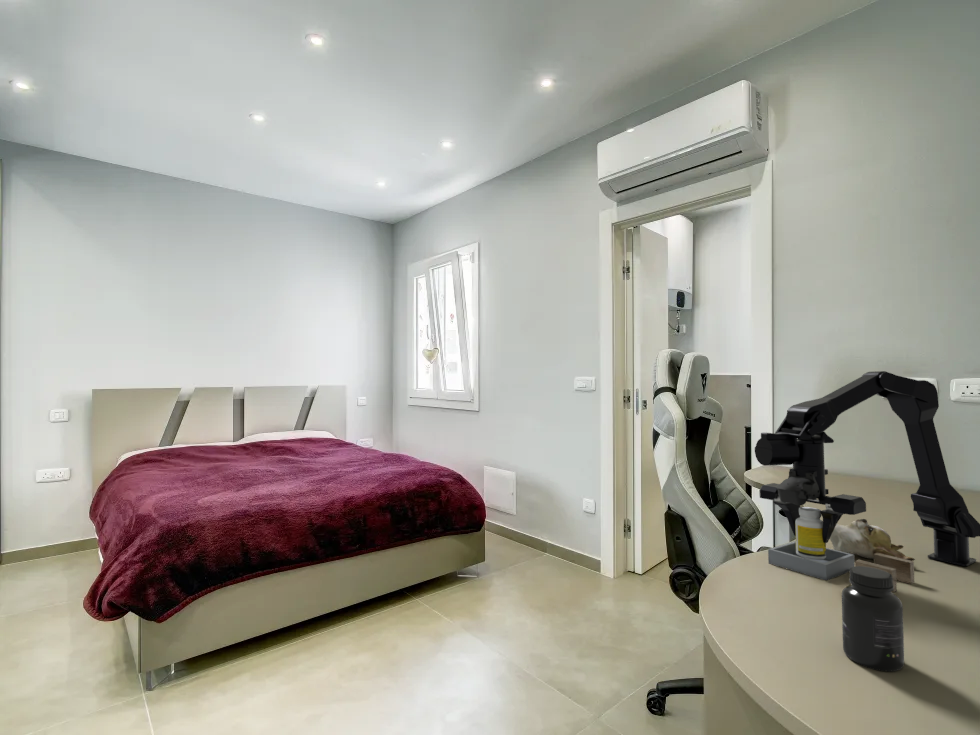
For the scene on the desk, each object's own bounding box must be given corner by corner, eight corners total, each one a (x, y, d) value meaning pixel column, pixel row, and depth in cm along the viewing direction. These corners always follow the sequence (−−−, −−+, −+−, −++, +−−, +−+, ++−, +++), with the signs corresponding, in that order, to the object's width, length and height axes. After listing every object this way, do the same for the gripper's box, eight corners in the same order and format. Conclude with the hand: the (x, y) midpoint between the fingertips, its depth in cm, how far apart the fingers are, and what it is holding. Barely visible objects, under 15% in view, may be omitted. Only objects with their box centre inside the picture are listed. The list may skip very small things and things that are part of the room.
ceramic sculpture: (824, 508, 121) (903, 519, 114) (822, 544, 121) (901, 558, 114) (829, 519, 111) (916, 532, 104) (827, 558, 111) (915, 574, 104)
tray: (797, 554, 114) (796, 540, 115) (854, 569, 105) (854, 554, 105) (768, 563, 109) (768, 549, 109) (826, 580, 99) (826, 564, 99)
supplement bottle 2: (831, 648, 73) (828, 563, 74) (875, 645, 74) (872, 562, 74) (870, 674, 67) (867, 581, 67) (918, 672, 67) (915, 580, 68)
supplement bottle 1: (831, 561, 103) (829, 512, 104) (802, 559, 105) (800, 511, 105) (819, 552, 109) (818, 506, 109) (791, 551, 110) (790, 505, 110)
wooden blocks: (877, 572, 103) (877, 552, 103) (914, 582, 98) (913, 561, 98) (855, 582, 98) (855, 561, 98) (892, 592, 93) (892, 570, 93)
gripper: (743, 462, 111) (745, 534, 111) (838, 474, 95) (841, 558, 95) (772, 458, 117) (774, 526, 116) (866, 469, 101) (868, 548, 100)
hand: (810, 539), depth 107 cm, fingers closed on supplement bottle 1, 5 cm apart
